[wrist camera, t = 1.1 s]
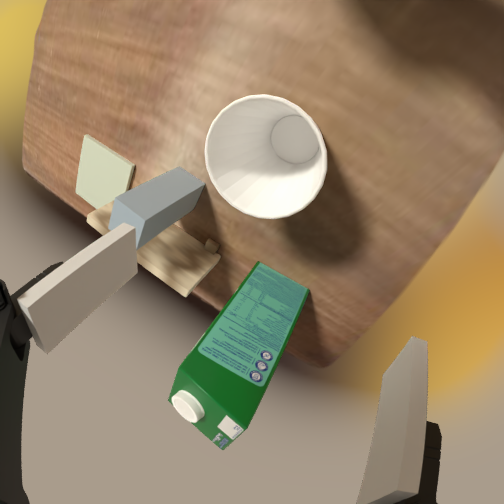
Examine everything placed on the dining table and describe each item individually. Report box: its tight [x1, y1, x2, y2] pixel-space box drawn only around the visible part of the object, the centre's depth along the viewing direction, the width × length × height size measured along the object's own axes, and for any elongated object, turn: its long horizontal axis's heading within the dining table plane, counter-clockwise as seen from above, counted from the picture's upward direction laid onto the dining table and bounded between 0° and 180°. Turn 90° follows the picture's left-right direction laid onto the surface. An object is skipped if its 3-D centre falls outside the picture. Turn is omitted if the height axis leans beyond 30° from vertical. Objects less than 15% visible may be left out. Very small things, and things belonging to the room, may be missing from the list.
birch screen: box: [87, 187, 221, 297], centre depth 48 cm, size 20×5×10 cm, turn 63°
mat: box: [76, 134, 135, 209], centre depth 53 cm, size 13×13×1 cm
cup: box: [205, 94, 327, 219], centre depth 33 cm, size 12×12×12 cm
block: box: [108, 167, 205, 251], centre depth 42 cm, size 5×5×14 cm
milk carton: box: [168, 261, 310, 450], centre depth 41 cm, size 9×9×25 cm
